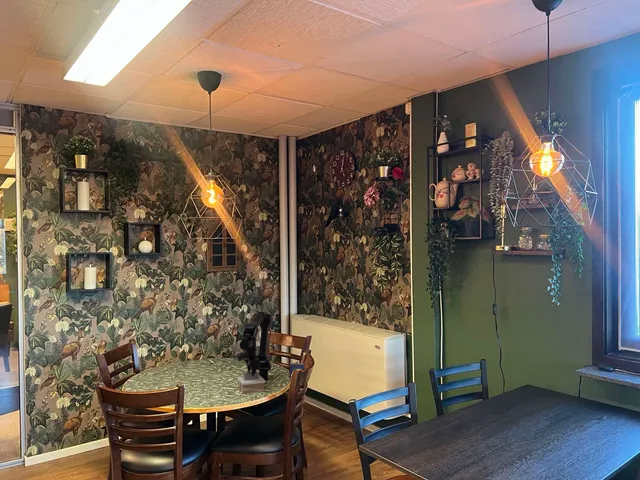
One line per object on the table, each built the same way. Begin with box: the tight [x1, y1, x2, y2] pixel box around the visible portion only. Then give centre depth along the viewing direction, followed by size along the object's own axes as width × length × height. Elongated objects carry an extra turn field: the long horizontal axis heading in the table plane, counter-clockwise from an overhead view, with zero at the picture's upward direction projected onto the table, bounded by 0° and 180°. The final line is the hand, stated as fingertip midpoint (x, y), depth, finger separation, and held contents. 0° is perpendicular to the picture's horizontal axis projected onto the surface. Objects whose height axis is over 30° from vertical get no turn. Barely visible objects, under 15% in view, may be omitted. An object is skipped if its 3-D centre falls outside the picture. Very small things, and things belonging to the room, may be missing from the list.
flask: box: [289, 360, 305, 379], centre depth 294 cm, size 9×3×11 cm, turn 88°
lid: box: [237, 370, 266, 385], centre depth 271 cm, size 13×13×6 cm
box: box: [237, 379, 265, 395], centre depth 271 cm, size 12×12×5 cm
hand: (251, 373), depth 271 cm, fingers open, 9 cm apart
